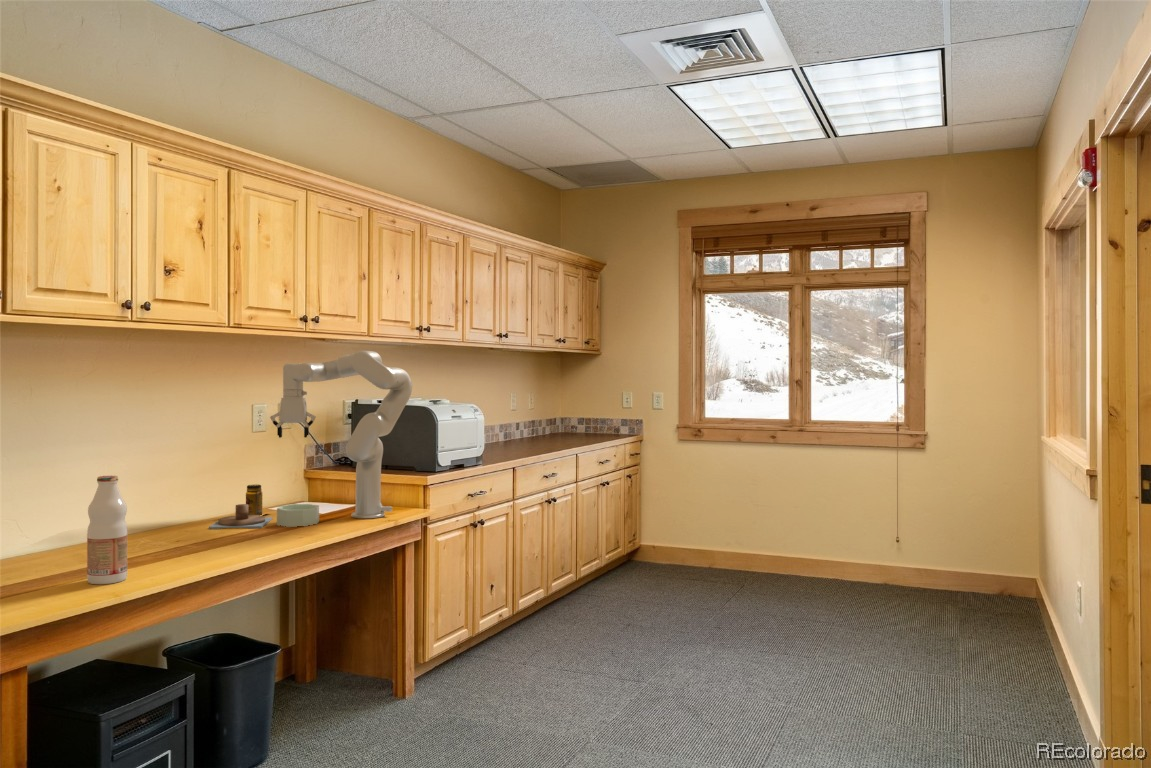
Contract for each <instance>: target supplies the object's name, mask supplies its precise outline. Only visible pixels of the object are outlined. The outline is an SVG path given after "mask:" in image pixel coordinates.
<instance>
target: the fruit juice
mask: <svg viewBox="0 0 1151 768" xmlns="http://www.w3.org/2000/svg"><path fill="white" fill-rule="evenodd" d="M96 481H97V482H96V483H97V485H98V486H97V489H96V491H95V494H94V496H93V498H92V501H91V502H90V503H89V505H88V509H87V515H88V519H89V524H88V526H87V533H86V538H87V539H86V540H87V542H86V544H87V545H86V553H87V554H86V555H87V557H86V567H87V568H86V579H87V583H89V584H90V585H111V584H116V583H121V582H123V581H125V580H127V578H128V524H127V522H126V515H127V512H128V507H127V503H126V502H125V500H124V499H123V496H122V494H121V492H120V489H119V487H118V483H119V476H118V475H102V476H101V475H100V476H98V477H97V478H96Z"/></svg>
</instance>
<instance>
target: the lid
mask: <svg viewBox="0 0 1151 768" xmlns="http://www.w3.org/2000/svg"><path fill="white" fill-rule="evenodd" d="M265 517H266V516H265V515H264V516H260V515H248V504H246V503H242V504H241V503H240V504H235V515H230V516H223V517H220V518H218V519H217V521H218V524H220V525H225V526H246V525H254V524H259V523H263V522H265Z"/></svg>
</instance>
